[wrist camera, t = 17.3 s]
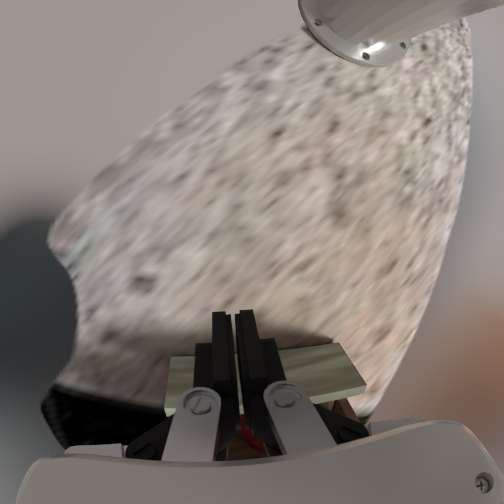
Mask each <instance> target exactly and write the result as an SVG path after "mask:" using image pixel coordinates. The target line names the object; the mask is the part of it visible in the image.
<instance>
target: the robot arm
mask: <svg viewBox="0 0 504 504" xmlns="http://www.w3.org/2000/svg"><path fill="white" fill-rule="evenodd" d="M502 5H504V0H298V6H299V10H300V13H301V16H302V18H303V20H304V22H305V24H306V26H307V27H308V28H309V30H310V31H311V32H312V34H313V35H314V36H315V37H316V38H317V39H318V40H319V41H320V42H321V43H322V44H323V45H324V46H326V47H327V48H328V49H330V50H331V51H332V52H334V53H335V54H337V55H339V56H340V57H342V58H344V59H346V60H348V61H351V62H353V63H356V64H359V65H363V66H369V67H381V66H386V65H389V64H392V63H394V62H396V61H398V60H400V59H401V58H402V57H403V56H404V55H405V54H406V52H407V51H408V49H409V45H410V42H411V38H413V37H415V36H418V35H420V34H422V33H425V32H427V31H429V30H432V29H434V28H437V27H439V26H442V25H445V24H447V23H450V22H453V21H455V20H458V19H461V18H464V17H467V16H470V15H473V14H475V13H479V12H482V11H485V10H489V9H492V8H496V7H498V6H502ZM315 24H316V25H315ZM235 326H236V342H237V357H238V369H239V378H240V386H241V395H242V403H243V411H244V419H245V427H246V429H251V431H252V436H254V437H255V438H257V439H259V440H260V441H262V442H263V447H264V449H265V452H266V454H267V457H266V458H256V459H246V460H232V461H227V459H228V450H229V449H228V445H229V444H230V443H231V442H233V441H234V440H235V439H236V430H239V429H241V420H240V408H239V396H238V383H237V373H236V363H235V353H234V343H233V333H232V323H231V314H228V315H226V313H225V311H222V312H212V343H196V348H195V363H194V379H193V388H192V389H189V390H187V391H185V392H184V393H183V394H182V395H181V396H180V398H179V400H178V404H177V407H176V410H175V413H174V414H172V415H171V416H169V417H168V418H167V419H165V420H164V421H162V422H161V423H159V424H158V425H156V426H155V427H153V428H152V429H150V430H149V431H147V432H146V433H144V434H143V435H141V436H140V437H138V438H136V439H135V440H133V441H132V442H131V443H130V444H129V445H126V446H122V444H121V443H120V444H107V445H86V446H72V447H70V448H68V449H67V450H66V451H65V452H64V453H63V454H56V455H50V456H46V457H43V458H41V459H39V460H37V461H35V462H34V463H33V464H32V466H31V467H30V468H29V470H28V471H27V473H26V475H25V477H24V479H23V481H22V484H21V487H20V489H19V492H18V495H17V499H16V502H15V504H504V478H503V476H502V474H501V473H500V471H499V469H498V467H497V465H496V464H495V462H494V461H493V459H492V458H491V456H490V455H489V453H488V452H487V450H486V449H485V448H484V446H483V445H482V443H481V442H480V441H479V440H478V439H477V437H476V436H475V435H474V434H473V433H472V432H471V431H470V430H469V429H468V428H467V427H465V426H464V425H462V424H460V423H458V422H455V421H448V420H439V421H426V420H425V419H422V418H419V417H411V418H404V419H398V420H397V419H396V420H388V421H379V422H370V423H369V425H363V424H361V423H359V422H358V421H355V420H352V419H350V418H347V417H345V416H342V415H340V414H338V413H335V412H333V411H330V410H328V409H326V408H323V407H321V406H319V405H317V404H314V403H312V402H311V400H310V398H309V396H308V395H307V393H306V391H305V390H304V388H303V387H302V386H301V385H299V384H297V383H295V382H292V381H287V380H286V376H285V373H284V370H283V366H282V363H281V359H280V356H279V353H278V349H277V346H276V342H275V339H274V338H268V339H259V336H258V331H257V327H256V322H255V317H254V313H253V309H251V310H240V314H235Z"/></svg>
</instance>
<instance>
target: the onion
mask: <svg viewBox="0 0 504 504" xmlns="http://www.w3.org/2000/svg"><path fill="white" fill-rule="evenodd" d="M240 420H241V429H240V433H241V435H242V438H243V440H244V441H245V443H246V444H247V445H248V446H250V447H251V448H253V449H255V450H257V451H259V452H263V453H266V452H265V449H264V447H263V442H262V441H260V440H259V439H257V438H255V437H254V436H252V431H251V429H246V427H245V419H244V414H243V415H242V417H241V419H240Z"/></svg>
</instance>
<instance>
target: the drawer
mask: <svg viewBox="0 0 504 504" xmlns="http://www.w3.org/2000/svg"><path fill="white" fill-rule="evenodd" d="M278 353H279V356H280V359H281V363H282V366H283V370H284V373H285V376H286V380H287V381H292V382H295V383H297V384H299V385H301V386H302V387H303V388H304V390H305V391H306V393H307V395H308V396H309V398H310V400H311V402H312V403H314V404H317V405H319V406H321V407H323V408H326V409H328V410H330V411H332V408H333V404H334V400H338V399H343V398H347V397H352V396H356V395H360V394H364V392H365V389H366V386H367V384H366V383H365V381H364V380H363V378H362V377H361V375H360V374H359V372H358V371H357V369H356V368H355V366H354V365H353V363H352V362H351V360H350V358H349V357H348V355H347V354H346V352H345V351H344V349H343V348H342V346H341V345H340V343H332V344H325V345H318V346H311V347H304V348H295V349H287V350H278ZM194 363H195V356H181V357H171V359H170V366H169V373H168V380H167V388H166V396H165V404H164V409H165V413H166V416H171V415H172V414H174V413H175V410H176V407H177V404H178V400H179V398H180V396H181V395H182V394H183V393H184V392H185V391H187V390H189V389H192V388H193V379H194ZM235 363H236V373H237V383H238V396H239V408H240V419H241V417H242V415H243V414H244V411H243V403H242V395H241V386H240V378H239V369H238V357H237V354H235ZM228 449H229V450H228V459H227V461H232V460H246V459H256V458H266V457H267V454H266V453H263V452H259V451H257V450H255V449H253V448H251V447H250V446H248V445H247V444H246V443H245V441H244V440H243V438H242V435H241V433H240V429H239V430H236V439H235V440H234V441H233V442H231V443H230V444H229V445H228Z"/></svg>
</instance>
